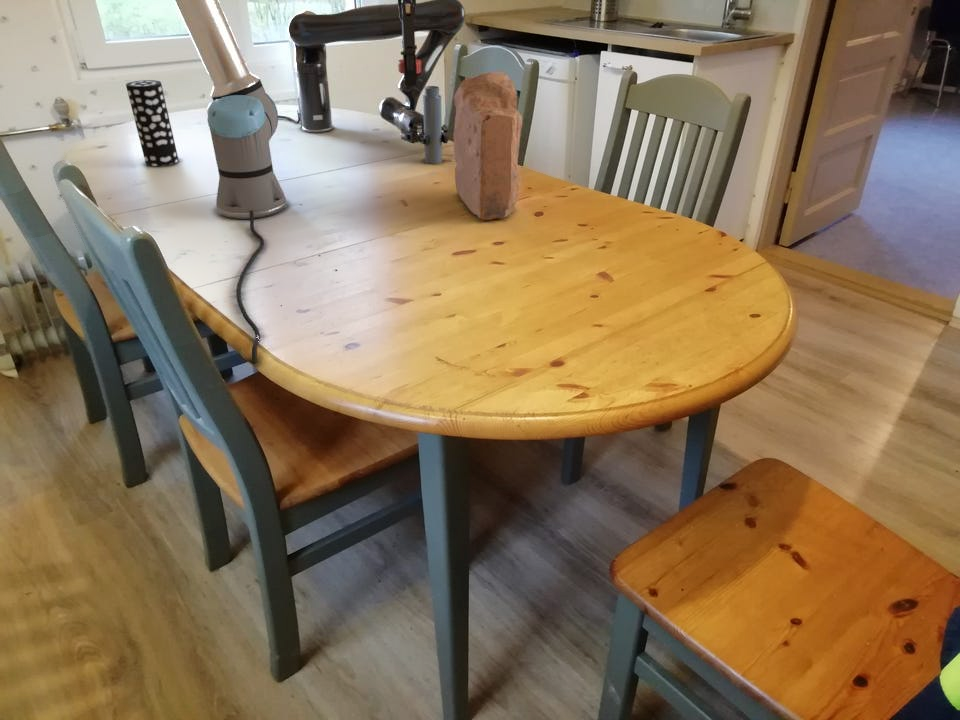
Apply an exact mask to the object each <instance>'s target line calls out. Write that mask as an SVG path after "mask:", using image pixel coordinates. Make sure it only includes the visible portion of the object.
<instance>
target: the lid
mask: <svg viewBox="0 0 960 720" xmlns="http://www.w3.org/2000/svg"><path fill="white" fill-rule="evenodd" d="M397 65H398V67H397V68H398V73H399V74H403V75H404V59H403V58H401V59H399V60H397ZM421 71H422V65H421V60H419V59H416V74H417V73H420V72H421Z"/></svg>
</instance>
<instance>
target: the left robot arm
mask: <svg viewBox="0 0 960 720" xmlns="http://www.w3.org/2000/svg"><path fill="white" fill-rule="evenodd" d="M173 2H174V4H175V6H176V8H177V10H178V13H179V14H180V17H181V19H182V22H183V23H184V25H185V28H186V29H187V31H188V34H189V36H190V38H191V40H192V42H193V44H194V46H195V49H196V51H197V53H198V55H199V58H200V60H201V61H202V64H203V66H204V68H205V71H206V72H207V75H208V76H209V78H210V81H211V83H212V85H213V86H212V90H211V93H210V97H211V99H212V101H211V102H210V103H209V104H208V106H207V110H206V111H207V112H206V113H207V124H208V127H209V131H210V136H211V142H212V147H213V151H214V156H215V161H216V167H217V169H218V170H217V172H218V185H217V193H216V201H215V203H216V204H215V206H216V210H217V213H218V214H219V215H221V216H223V217H225V218H229V219H236V220H249V228H250V232H251V234H253V236H255V237H256V238H257V239H258V240H259V246H258V247H257V249H255V251H254V252H253V253H252V255H251V256H250V258H249V260H248V261H247V263H246V264H245V266H244V267H243V269H242V271H241V273H240V275H239V278H238V281H237V285H236V293H235V294H236V301H237V305H238V308H239V310H240V313H241V315H242V317H243V319H244V320H245V321H246V323H247V324H248V325H249V326H250V328H251V329H252V331H253V332H254V336H255V338H254V341H253V343H252V348H251V362H252V364H253V365H257V364H258V348H257V346H258V347H259V344H258V341H259V343H260V342H261V333H260V330H259V328H258V326H257V325H256V323H255V322H254V321H253V319H251V318H250V316H249V314H248V312H247V310H246V308H245V306H244V304H243V300H242V286H243V281H244V279H245V276H246V274H247V272H248V270H249V269H250V267H251V266H252V264H253V262H254V261H255V259H256V258H257V256H258V255H259V254H260V253H261V251H262V250H263V248H264V245H265V241H264V238H263V237H262V236H261V235H260V234H259V233H258V232H257V231H256V229H255V220H254V219H260V218H261V219H262V218H265V217H266V218H267V217H270V216H274V215H276V214H278V213H280V212H282V211H283V210H285V209H286V207H287V199H286V194H285V193H284V191H283V189H282V187H281V184H280V182H279V180H278V179H277V177H276V175H275V172H274V167H273V160H272V154H271V148H270V142H271V139H272V137H273V136H274V134H275V133H276V131H277V129H278V125H279V118H278V116H279V113H278V108H277V106H276V103H275V101H274V100H273V99H272V97H271V96H270V95H269V94H268V93H267V92H266V90H265V87H264V86H263V83H262V80H261V79H260V77H259V76H257V75H255V74H252V73H251V72H250V69H249V67H248V64H247V63H246V61H245V58H244V56H243V54H242V52H241V49H240V47H239V45H238V42H237V40H236V38H235V36H234V33H233V31H232V28H231V26H230V23H229V21H228V19H227V17H226V15H225V12H224V10H223V8H222V6H221V3H220V1H219V0H173ZM416 3H417V0H397V4H398V7H399V16H400V20H401V21H402V36H401V38H402V40H401V44H402V51H400V55H401V56H402V59H404V74H403V75H404V80H405V86H406V85H417V76H416V54H417V52H416V51H417V49H418V45H417V44H416V32H414V21H415V19H416V16H415V8H416ZM257 335H258V336H259V339H260V340H259V339H258V338H256V337H257Z"/></svg>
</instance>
